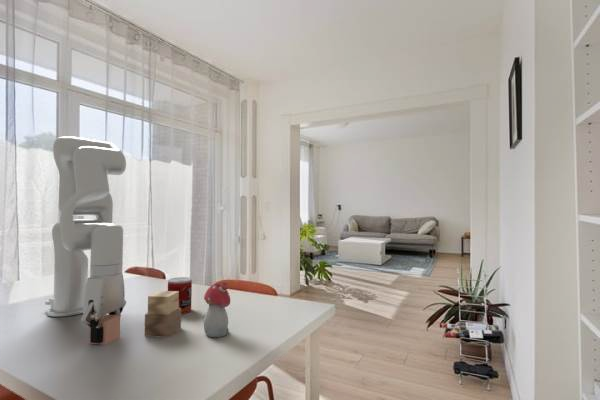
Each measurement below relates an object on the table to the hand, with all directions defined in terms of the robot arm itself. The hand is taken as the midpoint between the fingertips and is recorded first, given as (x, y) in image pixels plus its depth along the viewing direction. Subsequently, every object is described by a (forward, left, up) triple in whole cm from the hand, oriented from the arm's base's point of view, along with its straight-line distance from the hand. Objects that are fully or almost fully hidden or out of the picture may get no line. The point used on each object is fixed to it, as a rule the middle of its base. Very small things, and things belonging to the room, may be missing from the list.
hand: (105, 337), depth 85 cm
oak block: (+12, +8, +5) cm, 15 cm away
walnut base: (+12, +8, -1) cm, 14 cm away
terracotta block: (0, 0, -1) cm, 1 cm away
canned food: (+7, +26, -1) cm, 27 cm away
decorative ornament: (+28, +9, -1) cm, 29 cm away
